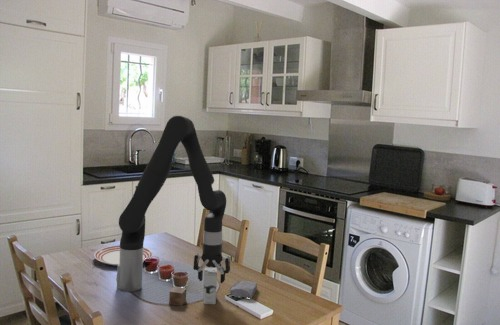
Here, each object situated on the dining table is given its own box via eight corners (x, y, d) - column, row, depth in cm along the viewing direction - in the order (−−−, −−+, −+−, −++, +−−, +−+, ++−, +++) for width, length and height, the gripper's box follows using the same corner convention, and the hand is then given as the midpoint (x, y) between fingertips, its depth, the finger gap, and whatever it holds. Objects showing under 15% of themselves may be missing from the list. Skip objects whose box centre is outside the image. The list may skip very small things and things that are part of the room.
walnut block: (169, 304, 169) (169, 291, 169) (173, 298, 174) (174, 286, 174) (181, 305, 168) (182, 293, 168) (185, 300, 173) (186, 288, 173)
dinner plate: (164, 259, 219) (164, 252, 219) (121, 274, 196) (121, 267, 196) (126, 247, 234) (126, 241, 233) (81, 260, 211) (81, 253, 210)
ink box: (203, 295, 179) (204, 267, 178) (215, 295, 180) (216, 267, 178) (202, 304, 171) (204, 274, 169) (215, 304, 171) (217, 275, 170)
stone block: (229, 301, 179) (253, 300, 177) (227, 290, 179) (251, 288, 177) (236, 291, 191) (258, 290, 188) (234, 280, 190) (257, 278, 188)
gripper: (232, 240, 175) (231, 279, 177) (197, 237, 178) (196, 276, 180) (228, 246, 168) (226, 287, 170) (192, 242, 170) (191, 283, 172)
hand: (211, 281), depth 175 cm, fingers open, 8 cm apart
